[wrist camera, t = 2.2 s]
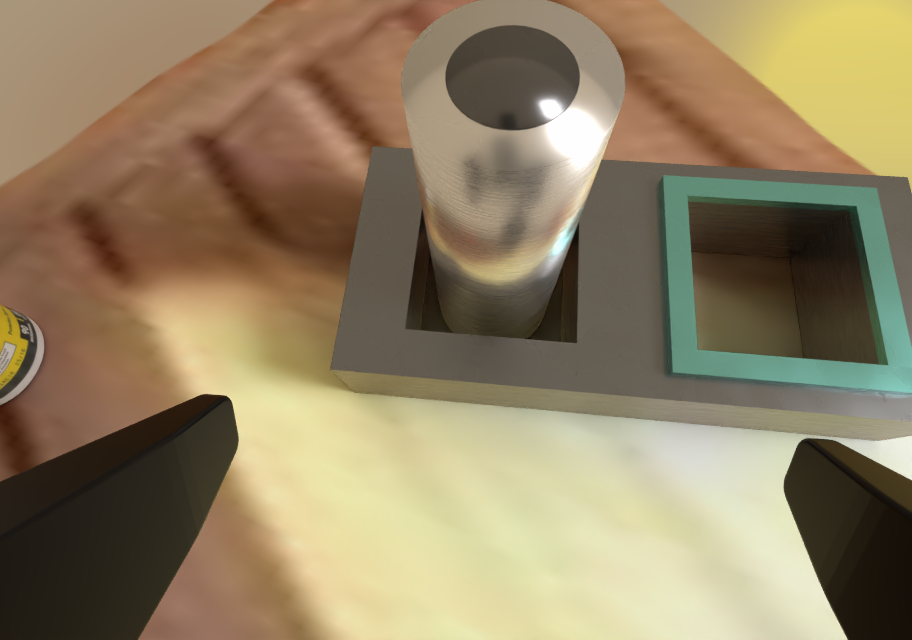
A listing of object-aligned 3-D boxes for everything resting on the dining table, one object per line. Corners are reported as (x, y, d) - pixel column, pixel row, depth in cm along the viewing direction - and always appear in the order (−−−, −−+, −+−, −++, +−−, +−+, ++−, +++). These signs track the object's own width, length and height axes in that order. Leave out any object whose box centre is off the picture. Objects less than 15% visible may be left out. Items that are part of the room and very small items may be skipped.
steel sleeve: (468, 367, 22) (460, 203, 10) (422, 276, 24) (366, 40, 12) (566, 320, 23) (671, 112, 11) (514, 234, 25) (554, -33, 12)
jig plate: (355, 392, 22) (327, 366, 18) (387, 199, 26) (370, 140, 21) (879, 440, 21) (980, 425, 17) (840, 228, 24) (915, 171, 20)
